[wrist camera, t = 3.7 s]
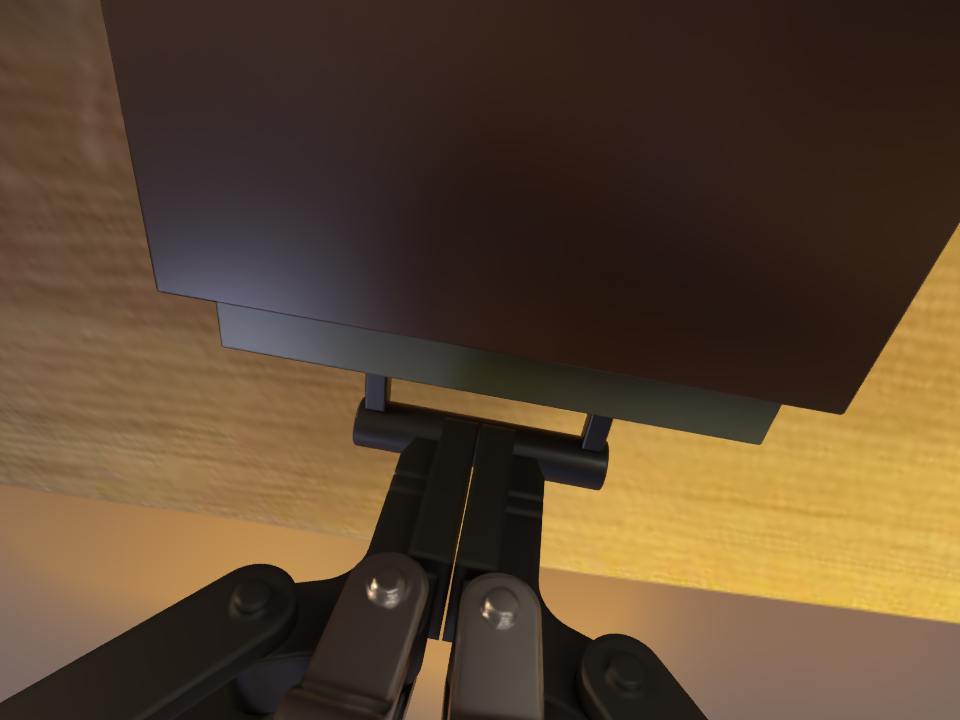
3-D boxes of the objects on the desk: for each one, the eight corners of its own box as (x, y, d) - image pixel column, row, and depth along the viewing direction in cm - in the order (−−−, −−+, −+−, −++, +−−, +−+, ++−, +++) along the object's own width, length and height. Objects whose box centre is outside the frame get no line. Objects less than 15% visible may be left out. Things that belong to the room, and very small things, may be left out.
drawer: (656, 394, 22) (688, 585, 16) (337, 336, 22) (241, 499, 16) (944, -382, 11) (1403, -774, 5) (334, -466, 12) (47, -925, 5)
